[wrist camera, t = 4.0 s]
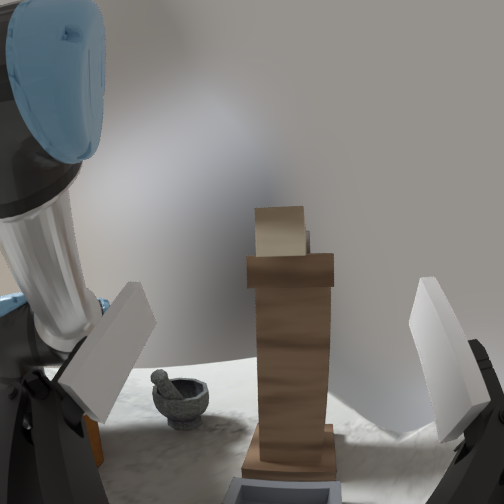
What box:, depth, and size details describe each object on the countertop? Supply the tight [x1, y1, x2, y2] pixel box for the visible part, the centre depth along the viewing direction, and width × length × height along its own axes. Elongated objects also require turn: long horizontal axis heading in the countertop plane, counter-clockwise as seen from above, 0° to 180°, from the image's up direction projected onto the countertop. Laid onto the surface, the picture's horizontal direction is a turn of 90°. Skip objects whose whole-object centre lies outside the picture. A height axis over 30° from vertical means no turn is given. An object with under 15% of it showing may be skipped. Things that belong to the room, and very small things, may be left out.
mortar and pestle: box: [151, 369, 209, 431], centre depth 44 cm, size 11×9×12 cm
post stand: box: [242, 253, 337, 482], centre depth 34 cm, size 16×12×29 cm
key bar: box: [255, 206, 310, 257], centre depth 30 cm, size 24×4×3 cm, turn 169°
